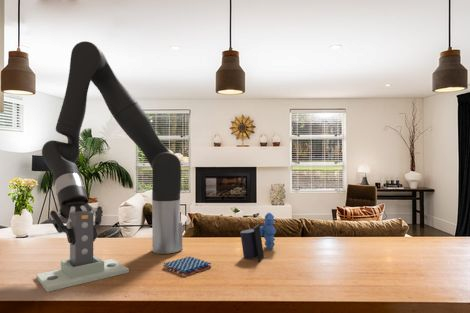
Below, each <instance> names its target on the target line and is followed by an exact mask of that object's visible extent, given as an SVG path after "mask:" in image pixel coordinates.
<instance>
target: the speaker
mask: <svg viewBox="0 0 470 313" xmlns="http://www.w3.org/2000/svg"><path fill="white" fill-rule="evenodd" d="M240 239H241V246H242V253H243V258H244V259H247V260H249V259H251V260H252V259H256V258H257V259H258V263H261V262H262V260H263V259H264V258H265V254H264V246H263V240H262V235H261V232H260V224H257V225H255V226H254V227H253V228H248V229H244V230H242V231H240Z"/></svg>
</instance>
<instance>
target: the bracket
mask: <svg viewBox="0 0 470 313" xmlns="http://www.w3.org/2000/svg"><path fill="white" fill-rule="evenodd" d="M129 271H130V270H129V268H128V267H126V266H125V265H123V264H122V263H120V262H118V261H117V260H115V259H114V258H109V259H105V260H103V259H102V258H101V259H100V258H99V257H98V256H96V255H95V254H93V263H91V264H86V265H81V266H76V267H73V266H72V265H71V264H70V258H67V259H63V260H60V269H56V270H50V271H46V272H41V273H40V272H39V273H36V279H37V280H38V282H39V283H40V285H41V286H42V287H43V289H44V290H45V292H46V293H48V292H51V291H57V290H61V289H66V288H69V287H74V286H78V285H81V284H86V283H90V282H94V281H99V280H103V279H107V278H111V277H115V276H119V275H120V276H121V275H123V274H127V273H130V272H129Z"/></svg>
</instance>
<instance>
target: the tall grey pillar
mask: <svg viewBox="0 0 470 313" xmlns="http://www.w3.org/2000/svg"><path fill="white" fill-rule="evenodd" d="M70 216H71V222H72V229H73V231H74V235H75V239H76V241H75V244H74V245H71V243H69V259H70V264H71V265H72V266H73V267H76V266H81V265H86V264H91V263H93V255H94V242H93V221H94V215H93V212H90V211H79V212H70Z"/></svg>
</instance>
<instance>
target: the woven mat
mask: <svg viewBox="0 0 470 313" xmlns="http://www.w3.org/2000/svg"><path fill="white" fill-rule="evenodd" d="M162 266H163V268H164V269H163V270H166V271H167V272H168V270H169V272H172V273H174V274H176V275H178V276H182V277H186V276H187V277H188V276H190V275H192V274H193V275H194V274H195V273H198V272H202V271H205V270H207V268H208V269H211V268H212V262H209V261H205V260H203V259H199V258H196V257H192V256H186V257H182V258H180V259H176V260H175V259H173V260H172V261H168V262H164V263H163V265H162ZM204 269H205V270H204Z"/></svg>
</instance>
